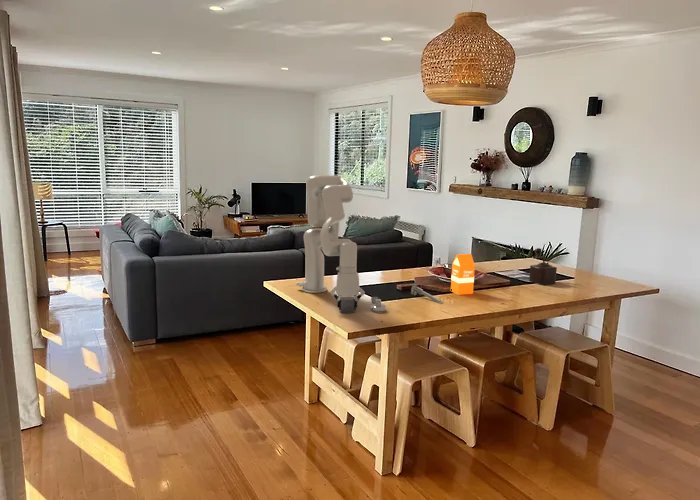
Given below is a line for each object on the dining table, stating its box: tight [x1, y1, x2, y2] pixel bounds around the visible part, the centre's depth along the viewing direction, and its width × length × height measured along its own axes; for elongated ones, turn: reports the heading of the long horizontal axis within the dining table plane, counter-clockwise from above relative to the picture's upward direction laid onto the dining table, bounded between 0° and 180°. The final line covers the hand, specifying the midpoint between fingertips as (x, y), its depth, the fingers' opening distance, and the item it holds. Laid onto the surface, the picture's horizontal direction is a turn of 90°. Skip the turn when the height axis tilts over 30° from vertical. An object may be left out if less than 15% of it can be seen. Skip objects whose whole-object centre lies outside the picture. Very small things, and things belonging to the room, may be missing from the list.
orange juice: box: [450, 253, 476, 296], centre depth 277 cm, size 8×9×20 cm
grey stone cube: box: [339, 296, 355, 314], centre depth 241 cm, size 6×6×6 cm
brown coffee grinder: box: [528, 247, 558, 286], centre depth 305 cm, size 16×11×18 cm
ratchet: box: [369, 296, 387, 313], centre depth 250 cm, size 7×21×5 cm, turn 3°
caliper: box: [410, 283, 444, 304], centre depth 264 cm, size 20×1×6 cm, turn 39°
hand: (347, 308), depth 242 cm, fingers closed on grey stone cube, 6 cm apart
